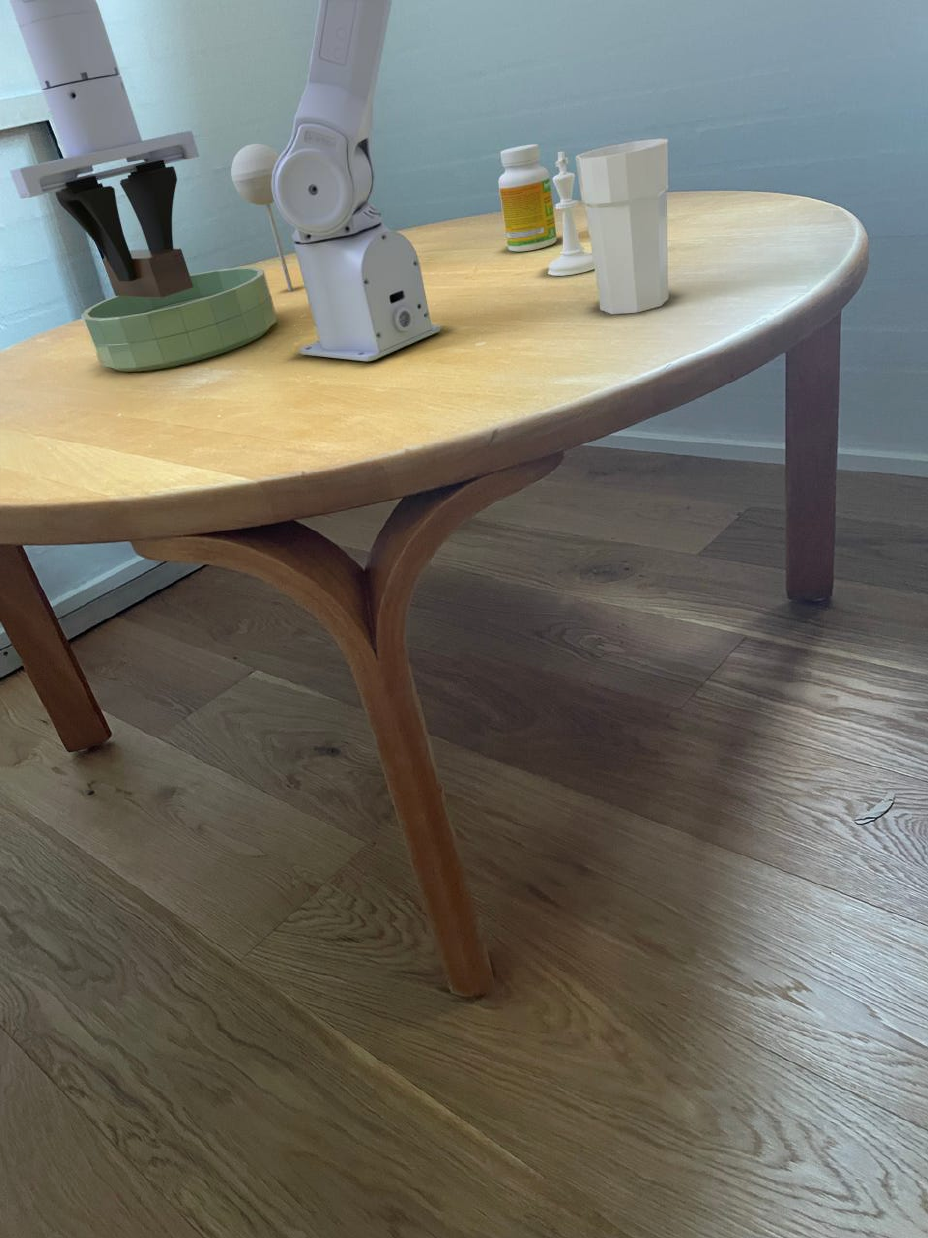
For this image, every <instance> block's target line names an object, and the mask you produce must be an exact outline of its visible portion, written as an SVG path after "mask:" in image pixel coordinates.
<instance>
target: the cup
mask: <svg viewBox="0 0 928 1238" xmlns="http://www.w3.org/2000/svg"><path fill="white" fill-rule="evenodd" d="M575 165H576V172H577V179H578V184H579V185H578V186H579V192H580V197H581V198H580V199H581V203H582V205H583V206H584V210H585V216H586V217H585V218H586V223H587V230H588V235H589V242H590V249H591V253H592V256H593V262H594V268H595V269H594V274H595V280H596V286H597V294H598V300H599V309H600V311H602V312H605V313H607V314H611V315H620V314H635V313H636V314H637V313H641V312H644V311H648V310H652V309H655V308H658V307H662V306H663V305H664V304H665V303H666V302H667V301H668V300H669V267H668V266H669V265H668V263H669V257H668V189H669V185H670V184H669V183H670V181H669V178H670V177H669V176H670V175H669V139H668V138H652V139H651V138H649V139H643V140H634V141H629V142H624V143H618V144H612V145H608V146H603V147H600V148H596V149H593V150H589V151H586V152H582V153H580V154H577V155H576V156H575Z"/></svg>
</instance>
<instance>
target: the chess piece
mask: <svg viewBox="0 0 928 1238" xmlns="http://www.w3.org/2000/svg"><path fill="white" fill-rule="evenodd" d="M556 155H557V160H556V161H554V164H555V168H558V170H559V172H558V174H556V175H553V177H552V183H553V185H554V187H555V189H556V191H557V194H558V196H559V199H560V200H559V202H557V203H556V204H555V207H554V208H555V209H556V210H561V211H562V212H561V213H562V214H561V215H562V250H560V251H559V254H560V256H559V257H557V258H555V259H553V260H552V261H551V262H549V263H548V265H547V268H548V271H547V274H548V275H550V276H552V277H553V276H554V277H565V276H572V275H579V274H583V273H587V272H589V271H593V270H595V268H594V262H593V256H592V252H585V251H584V250H585V247H583V246H582V244H581V242H580V238H579V233H578V229H577V225H576V221H575V215H574V209H573V208H574V207H577V206H578V205H579V201H578V200H577V199H573V197H572V196H573V190H574V184H575V180H576V179H575V178H576V175H575V173H573V172H569V171H567V164H569V163H570V161H569V157H565V156H566V155H565V151H564V150H563V151H558V152H557V153H556Z"/></svg>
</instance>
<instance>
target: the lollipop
mask: <svg viewBox="0 0 928 1238" xmlns="http://www.w3.org/2000/svg"><path fill="white" fill-rule="evenodd" d="M280 155H281V154H279V152H278V151H276V150H275V149H274V148H272V147H270V146H269V145H266V144H262V143H250V144H248V145H245V146H243V147H242V148H241V149H240V150H239V151H238V152H237V153H236V155H234V158H233V160H232V162H231V169H230V173H231V174H230V176H231V181H232V184H233V186H234V188H235V189H236V191H237V193H238V194H239V195H240V196H241V197H242V198H243V199H244V200H245V201H247V202H249V203H250V204H254V205H256V206H257V205H259V206H265V208H266V211H267V215H268V218H269V222H270V226H271V230H272V234H273V236H274V241H275V244H276V249H277V252H278V255H279V259H280V262H281V267H282V270H283V274H284V277H285V280H286V284H287V288H288V291H289V292H292V291H294V288H293V284H292V281H291V277H290V273H289V270H288V266H287V262H286V258H285V255H284V251H283V247H282V244H281V240H280V235H279V233H278V230H277V225H276V222H275V218H274V213H273V210H272V207H271V204H273V203H275V201H274V198H273V194H272V182H271V180H272V173H273V169H274V166H275V164H276V162H277V160H278V158H279V157H280Z"/></svg>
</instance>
